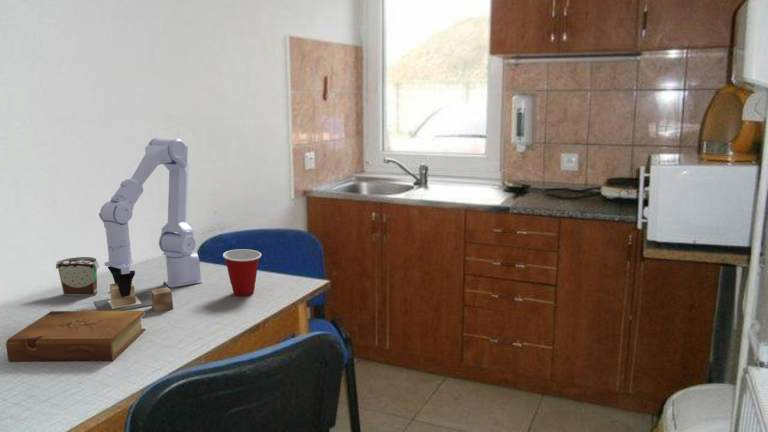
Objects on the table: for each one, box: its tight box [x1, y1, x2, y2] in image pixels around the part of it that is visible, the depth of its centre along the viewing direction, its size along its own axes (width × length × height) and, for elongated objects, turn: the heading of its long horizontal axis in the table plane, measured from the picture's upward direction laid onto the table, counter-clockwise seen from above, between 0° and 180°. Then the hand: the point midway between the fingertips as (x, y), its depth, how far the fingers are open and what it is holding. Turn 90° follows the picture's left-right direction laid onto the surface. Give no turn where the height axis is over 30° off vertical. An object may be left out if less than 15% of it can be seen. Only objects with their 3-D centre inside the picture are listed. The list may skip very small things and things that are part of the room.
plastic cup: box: [222, 248, 262, 297], centre depth 183 cm, size 11×11×12 cm
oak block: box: [109, 282, 136, 307], centre depth 177 cm, size 6×6×5 cm
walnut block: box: [150, 286, 174, 313], centre depth 172 cm, size 4×4×5 cm
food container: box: [55, 256, 100, 297], centre depth 187 cm, size 12×6×10 cm, turn 84°
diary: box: [5, 310, 146, 363], centre depth 148 cm, size 23×19×6 cm
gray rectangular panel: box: [94, 292, 152, 311], centre depth 177 cm, size 14×12×1 cm
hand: (123, 293), depth 177 cm, fingers closed on oak block, 5 cm apart
